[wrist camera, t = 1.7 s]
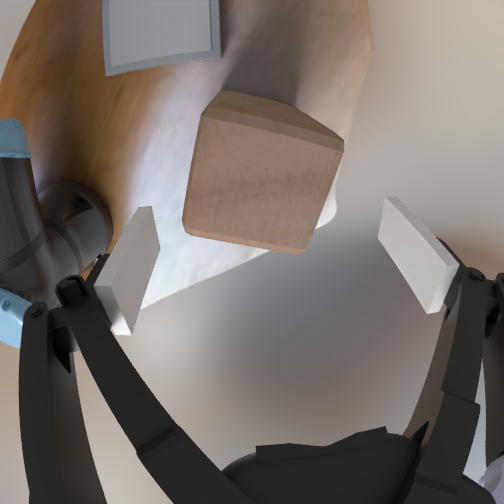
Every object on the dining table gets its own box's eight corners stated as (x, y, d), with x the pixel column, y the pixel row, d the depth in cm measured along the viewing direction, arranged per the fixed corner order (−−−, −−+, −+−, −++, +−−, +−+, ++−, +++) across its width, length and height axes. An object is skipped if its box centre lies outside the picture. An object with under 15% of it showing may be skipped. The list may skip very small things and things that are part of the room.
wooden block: (219, 87, 33) (202, 101, 16) (296, 106, 35) (353, 140, 18) (203, 160, 38) (178, 238, 22) (275, 175, 40) (306, 261, 23)
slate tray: (114, 75, 30) (104, 76, 28) (111, -15, 22) (101, -20, 20) (221, 59, 31) (220, 57, 28) (218, -35, 23) (216, -43, 20)
